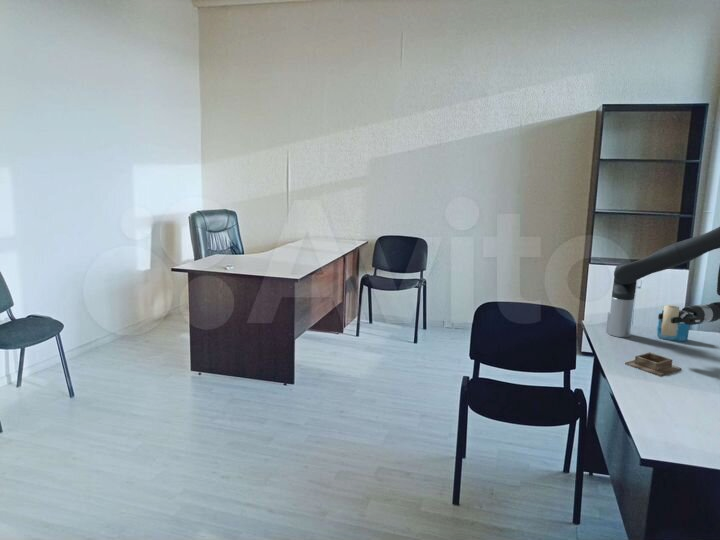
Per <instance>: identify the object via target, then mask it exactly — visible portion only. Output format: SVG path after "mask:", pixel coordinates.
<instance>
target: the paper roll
mask: <svg viewBox="0 0 720 540" xmlns="http://www.w3.org/2000/svg"><path fill="white" fill-rule="evenodd" d="M663 310H664V312H663V320H662V329H661V334H663V335H667V336H676V332H677V324H678V323H671V318H672V317H678V316H679V310H680V306H677V305H671V304H665V305H664V306H663Z"/></svg>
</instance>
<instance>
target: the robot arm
mask: <svg viewBox="0 0 720 540" xmlns="http://www.w3.org/2000/svg"><path fill="white" fill-rule="evenodd" d="M717 249H718V250H719V249H720V226H718V227H717V228H714V229H712V230H710V231H708V232H705V233H703V234H701V235H697V236H694V237H691V238H686V239H684V240H681V241H678V242H675V243H672V244H669V245H666V246H665V247H662V248H660V249H658V250H656V251H655V252H653V253H651V254H649V255H648V256H646V257H644V258H641V259H639V260H635V261H632V262H631V261H622V262H620V263H618V264H617V266H616V267H615V269H614V272H613V284H612V285H613V286H612V292H611V299H610V301H611V302H610V310H609V312H608V313H607V320H606V327H605V328H606V329H605V332H606V333H607V334H608V335H610V336H613V337H617V338H629V337H630V336H631V329H632V321H633V314H634V313H633V312H634V306H635V305H634V303H635V297H636V289H637V288H636V287H637V281H638V280H640V279H642V278H645V277H646V276H649V275H651V274H654V273H658V272H662V271H665V270H669V269H671V268H675V267H678V266H681V265H684V264H685V263H688V262H691V261H693V260H696V259H698V258H699V257H701V256H703V255H704V254H707V253H709V252H711V251H714V250H717ZM716 294H717V295H718V296H719V297H720V264H719V266H718V272H717V283H716ZM661 311H662V313H660V314H659V313H658V316H657V320H658V319H663V312H664V309H663V310H661ZM718 320H720V301H716V302H711V303H710V304H697V305H694V304H693V305H686V306H685V307H683V308H682V309H681V310H680V309H679V316H678V317H672V318H671V323H685V324H686V325H690V326H694V325H701V324H706V323H711V322H712V323H713V322H716V321H718Z"/></svg>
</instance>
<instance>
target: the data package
mask: <svg viewBox="0 0 720 540" xmlns="http://www.w3.org/2000/svg"><path fill="white" fill-rule="evenodd" d="M662 311H663V310H660V311H659V312H658V315H659V314H660V313H662ZM662 320H663V319H658V318H657V325H656V336H657V338H658V339H663V340H670V341H676V342H677V341H678V342H686V341H688V339H689V331H690V326H691V325H686V324H685V323H678V324H677V332H676V336H667V335H663V334H661V329H662Z"/></svg>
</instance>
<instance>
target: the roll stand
mask: <svg viewBox="0 0 720 540" xmlns="http://www.w3.org/2000/svg"><path fill="white" fill-rule="evenodd" d="M624 364H625V365H626V364H627V365H626V366H629V365H630V366H629V367H632V368H635V369H637V368H638V370H640V371H643V372H647V373H648V374H651V373H652V375H654V374H655V376H657V375H658V377H661V376H665V375H668V374H671V373H675V372H678V371H681V370H682V367H680V366H676V365H673V359H671V358H669V357H665V356H662V355H660V354H656V353H654V352H653V353H652V352H646V353H642V354H638V355H636V356H635V358H634V360H631V361H626V362H624Z"/></svg>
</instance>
